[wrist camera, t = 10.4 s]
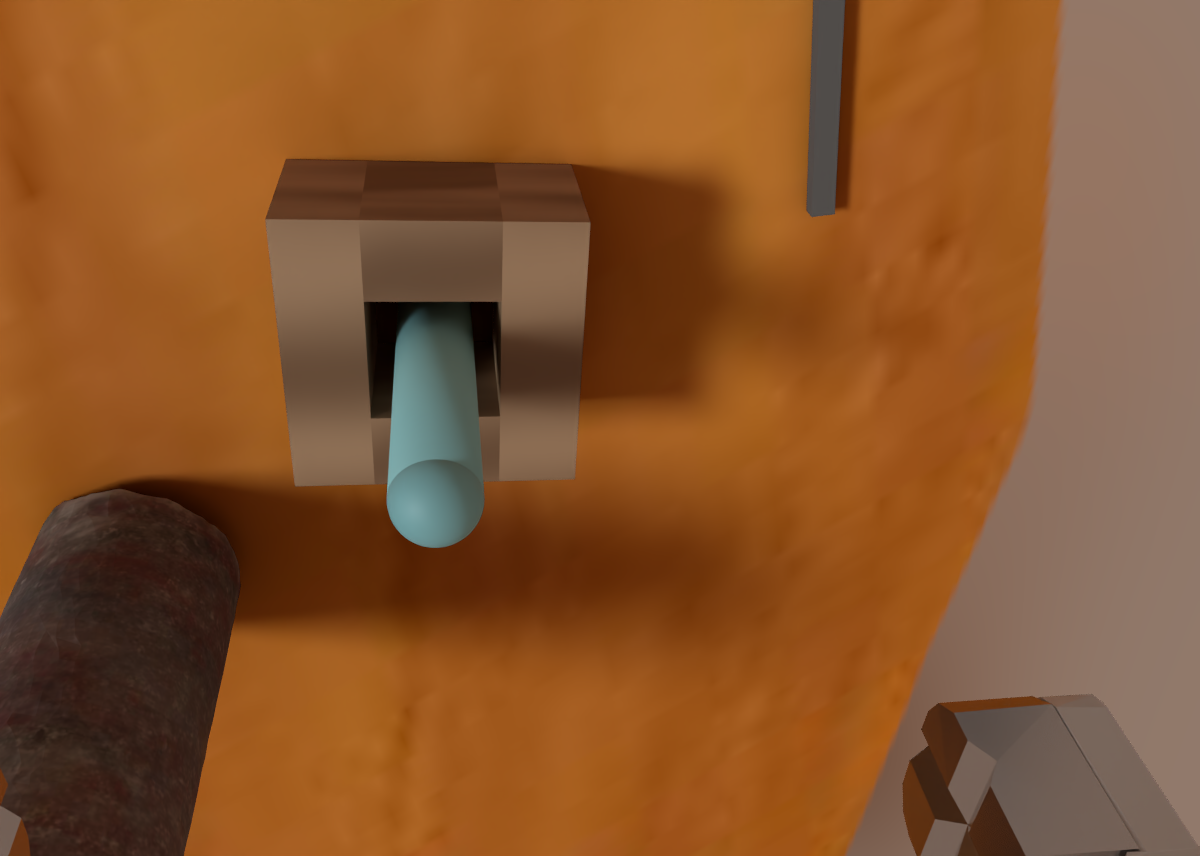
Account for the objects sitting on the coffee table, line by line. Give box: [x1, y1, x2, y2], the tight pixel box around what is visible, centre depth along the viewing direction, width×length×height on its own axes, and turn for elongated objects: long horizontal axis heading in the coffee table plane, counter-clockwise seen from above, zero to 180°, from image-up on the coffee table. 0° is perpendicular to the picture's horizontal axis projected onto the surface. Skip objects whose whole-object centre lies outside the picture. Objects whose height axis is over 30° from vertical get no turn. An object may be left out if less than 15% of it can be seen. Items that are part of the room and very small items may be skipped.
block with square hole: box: [265, 159, 591, 486], centre depth 34 cm, size 9×9×5 cm
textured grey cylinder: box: [0, 489, 241, 856], centre depth 32 cm, size 8×7×20 cm
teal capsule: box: [387, 302, 484, 548], centre depth 31 cm, size 2×2×13 cm
